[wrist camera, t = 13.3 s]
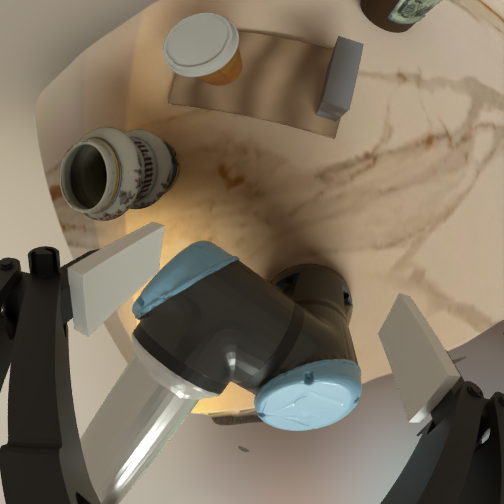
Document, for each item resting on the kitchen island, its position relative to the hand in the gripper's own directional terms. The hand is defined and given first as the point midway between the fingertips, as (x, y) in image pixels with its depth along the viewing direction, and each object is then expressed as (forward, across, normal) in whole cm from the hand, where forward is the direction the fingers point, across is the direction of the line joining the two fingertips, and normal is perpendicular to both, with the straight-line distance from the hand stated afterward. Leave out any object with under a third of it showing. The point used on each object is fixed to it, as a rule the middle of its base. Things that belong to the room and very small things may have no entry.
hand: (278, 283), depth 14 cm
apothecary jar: (+29, +23, 0) cm, 37 cm away
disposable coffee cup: (+29, +15, -18) cm, 37 cm away
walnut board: (+29, +9, -18) cm, 35 cm away
